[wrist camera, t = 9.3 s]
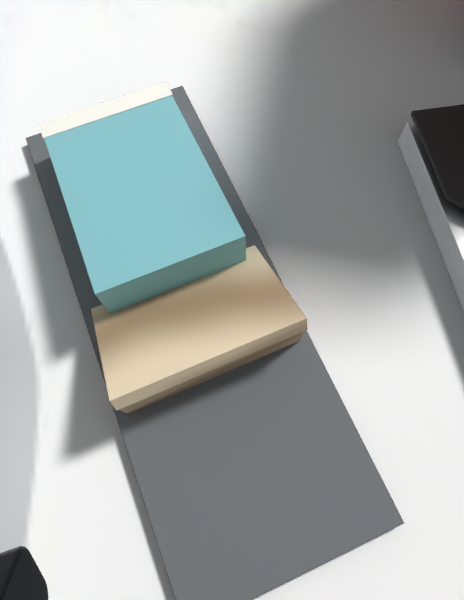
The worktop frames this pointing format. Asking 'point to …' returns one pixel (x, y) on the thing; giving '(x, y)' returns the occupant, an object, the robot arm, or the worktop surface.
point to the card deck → (141, 197)
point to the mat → (241, 447)
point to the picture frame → (440, 179)
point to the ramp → (195, 332)
